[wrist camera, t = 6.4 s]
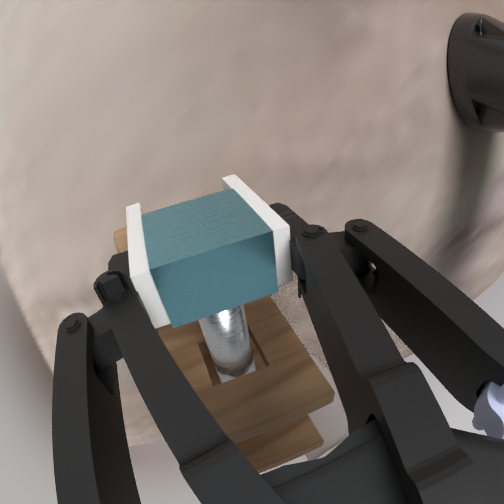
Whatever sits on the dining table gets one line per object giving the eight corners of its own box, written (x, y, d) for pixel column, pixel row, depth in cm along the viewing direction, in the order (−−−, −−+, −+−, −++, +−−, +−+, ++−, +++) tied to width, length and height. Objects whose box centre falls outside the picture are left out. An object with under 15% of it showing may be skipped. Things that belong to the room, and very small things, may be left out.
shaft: (140, 215, 14) (149, 269, 10) (233, 188, 15) (273, 230, 11) (220, 413, 25) (237, 455, 22) (267, 396, 26) (288, 436, 23)
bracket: (114, 231, 21) (124, 407, 10) (246, 192, 23) (366, 317, 12) (185, 385, 32) (226, 498, 21) (268, 356, 34) (327, 457, 23)
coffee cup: (299, 338, 35) (371, 442, 23) (339, 352, 40) (401, 435, 29) (247, 388, 37) (299, 490, 25) (293, 395, 42) (342, 477, 30)
